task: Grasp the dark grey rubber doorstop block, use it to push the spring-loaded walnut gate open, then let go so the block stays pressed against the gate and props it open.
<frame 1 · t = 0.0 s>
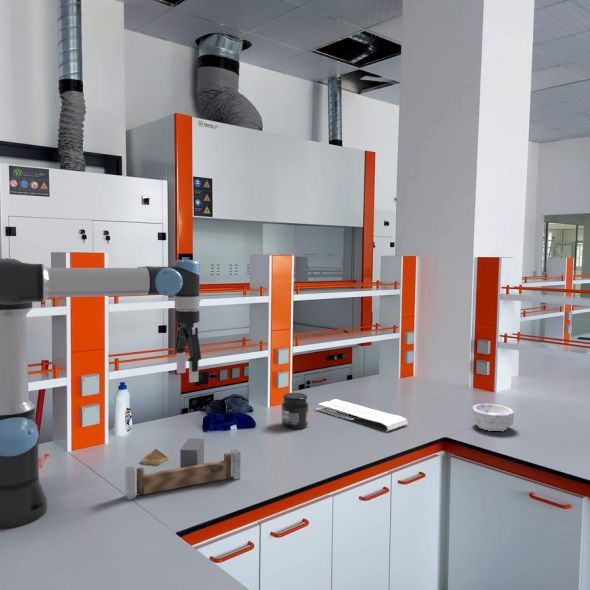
hand: (187, 377, 173), 28 cm above the countertop, tool pointing down, fingers open, 13 cm apart
grey blocks: (183, 487, 158), on the countertop
supplement container: (294, 426, 215), on the countertop
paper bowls: (491, 429, 215), on the countertop
gate: (185, 473, 158), point 4 cm above the countertop, hinge at 0.0°
shard: (151, 461, 179), on the countertop
rubber doorstop block: (192, 472, 168), on the countertop
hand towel: (359, 419, 227), on the countertop
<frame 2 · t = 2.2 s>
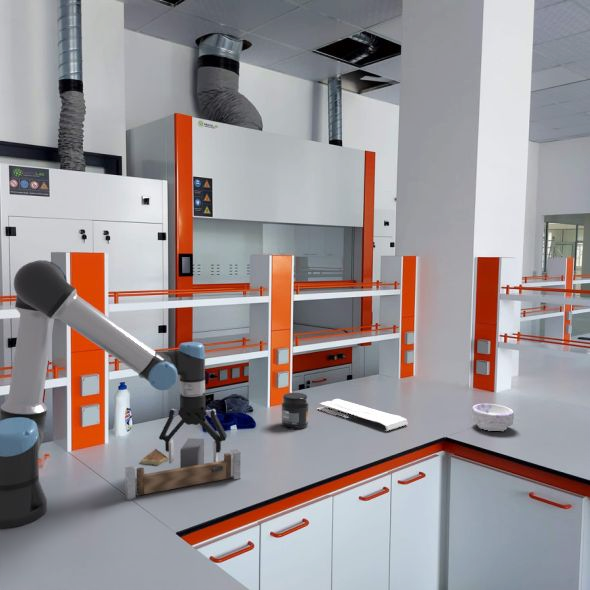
hand: (193, 462, 168), 3 cm above the countertop, tool pointing down, fingers open, 13 cm apart
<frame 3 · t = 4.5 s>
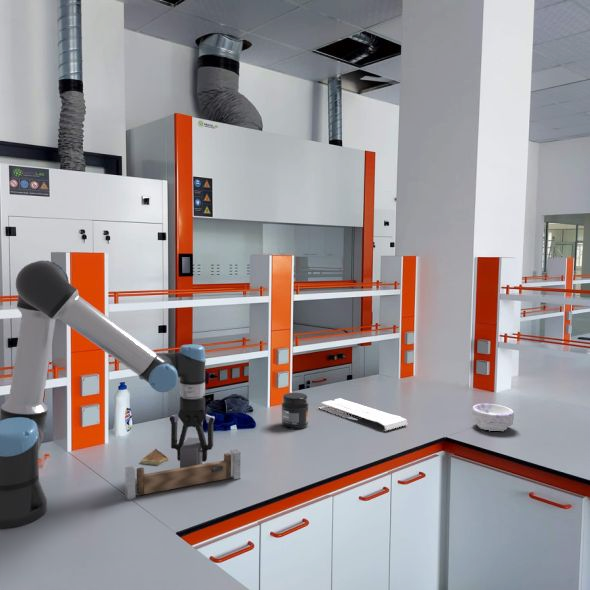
hand: (192, 470, 168), 1 cm above the countertop, tool pointing down, fingers closed on rubber doorstop block, 5 cm apart
rubber doorstop block: (192, 472, 168), on the countertop, touching gripper
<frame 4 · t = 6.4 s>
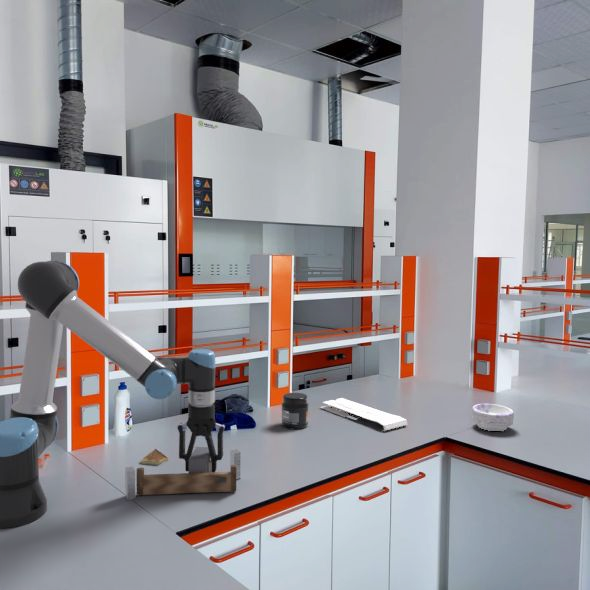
hand: (200, 481, 160), 1 cm above the countertop, tool pointing down, fingers closed on rubber doorstop block, 5 cm apart
gate: (186, 480, 153), point 4 cm above the countertop, hinge at 20.7°
rubber doorstop block: (200, 483, 160), on the countertop, touching gripper
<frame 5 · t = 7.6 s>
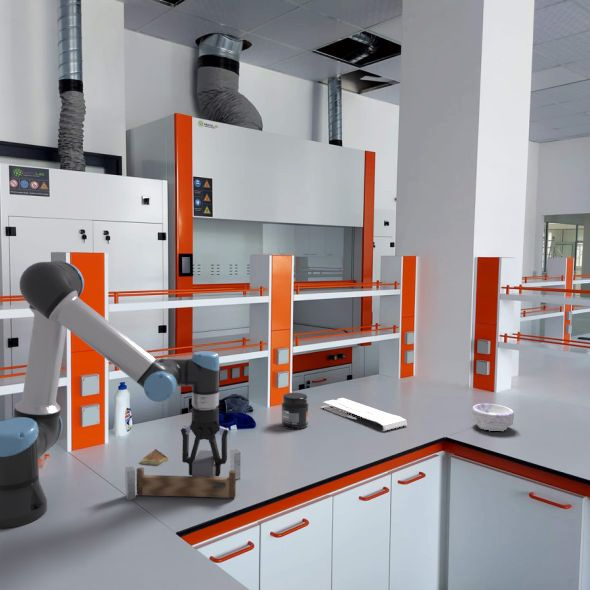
hand: (204, 486, 158), 1 cm above the countertop, tool pointing down, fingers closed on rubber doorstop block, 5 cm apart
gate: (185, 483, 151), point 4 cm above the countertop, hinge at 29.8°, touching rubber doorstop block
rubber doorstop block: (204, 487, 158), on the countertop, touching gate, gripper
when the fingers open (1 cm above the countertop, at t = 8.4 s): rubber doorstop block stays where it is, on the countertop.
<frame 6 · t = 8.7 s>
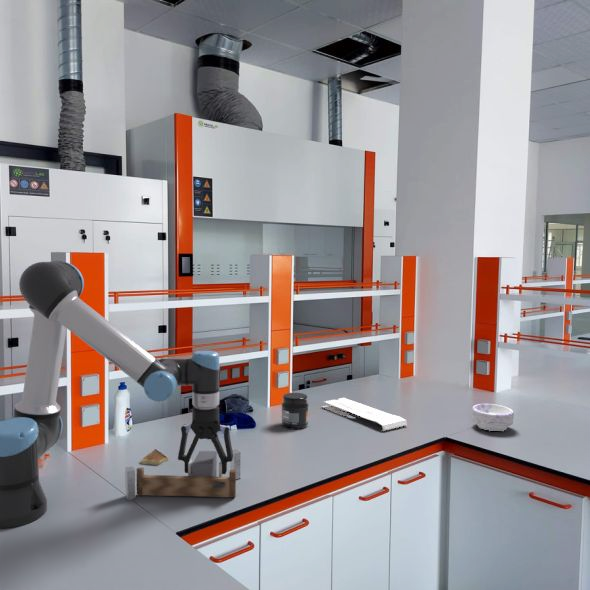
hand: (205, 484, 157), 1 cm above the countertop, tool pointing down, fingers open, 8 cm apart
gate: (185, 482, 151), point 4 cm above the countertop, hinge at 29.1°
rubber doorstop block: (204, 488, 158), on the countertop
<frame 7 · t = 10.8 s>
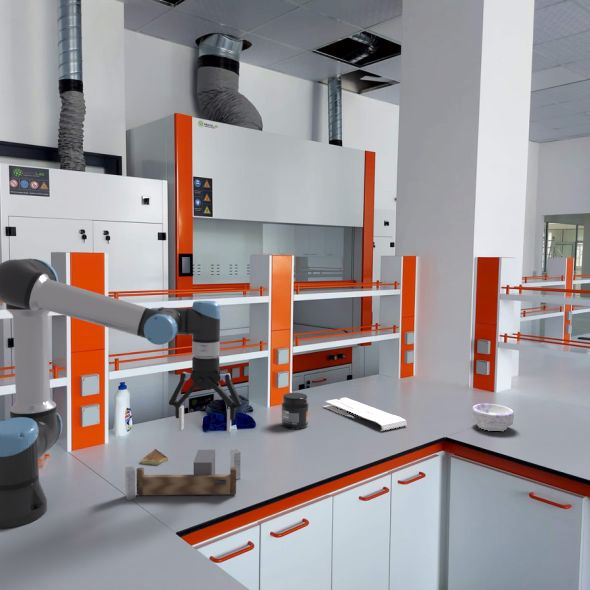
hand: (205, 430, 156), 17 cm above the countertop, tool pointing down, fingers open, 13 cm apart
gate: (186, 481, 152), point 4 cm above the countertop, hinge at 25.0°, touching rubber doorstop block
rubber doorstop block: (204, 486, 159), on the countertop, touching gate
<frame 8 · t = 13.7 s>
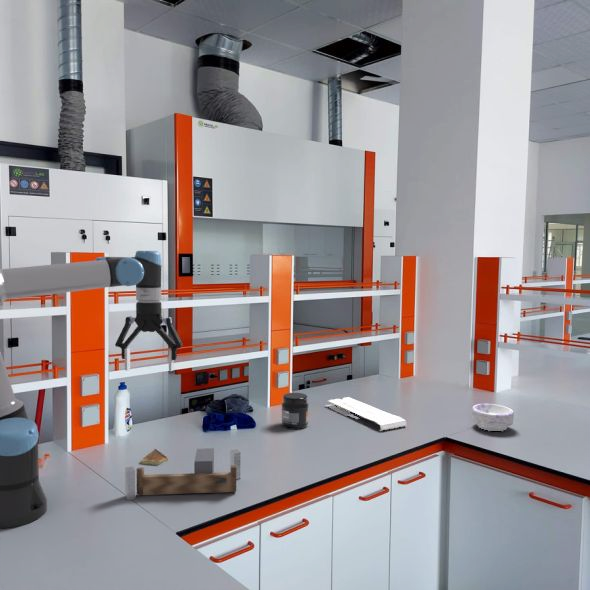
hand: (149, 370, 170), 31 cm above the countertop, tool pointing down, fingers open, 13 cm apart
gate: (186, 480, 153), point 4 cm above the countertop, hinge at 21.7°, touching rubber doorstop block
at the end: gate at +22° (first picture: +0°); rubber doorstop block touching gate, countertop; rubber doorstop block tilted 0° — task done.
